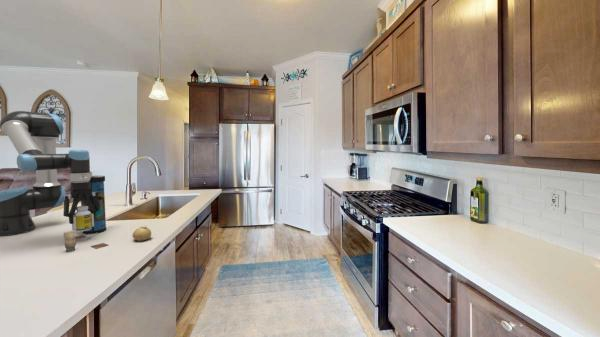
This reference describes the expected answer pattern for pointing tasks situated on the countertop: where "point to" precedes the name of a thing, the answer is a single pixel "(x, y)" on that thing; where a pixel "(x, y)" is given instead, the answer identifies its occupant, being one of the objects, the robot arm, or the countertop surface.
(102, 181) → the advertising column
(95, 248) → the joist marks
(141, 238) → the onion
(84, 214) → the pill bottle
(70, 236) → the tan wooden cylinder
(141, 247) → the countertop surface
